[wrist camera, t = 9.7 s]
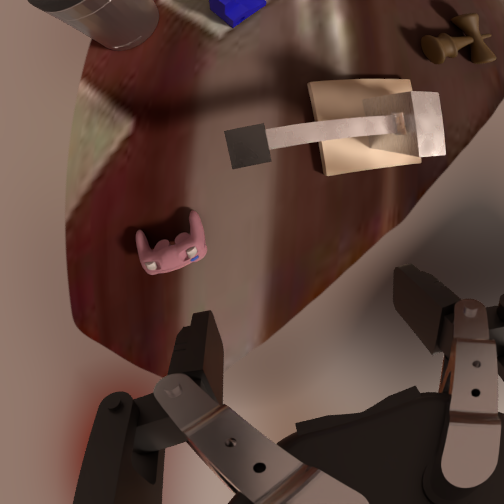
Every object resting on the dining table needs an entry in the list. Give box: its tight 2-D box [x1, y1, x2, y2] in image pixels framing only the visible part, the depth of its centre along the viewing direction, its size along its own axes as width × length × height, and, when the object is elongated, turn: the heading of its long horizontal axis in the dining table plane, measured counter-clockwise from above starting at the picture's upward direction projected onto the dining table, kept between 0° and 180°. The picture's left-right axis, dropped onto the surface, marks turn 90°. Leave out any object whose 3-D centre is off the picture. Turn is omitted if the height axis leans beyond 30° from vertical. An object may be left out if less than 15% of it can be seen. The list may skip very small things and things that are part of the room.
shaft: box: [224, 115, 397, 169], centre depth 25 cm, size 3×18×8 cm, turn 101°
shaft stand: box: [307, 79, 446, 176], centre depth 30 cm, size 13×16×14 cm
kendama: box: [421, 13, 496, 64], centre depth 28 cm, size 6×10×20 cm
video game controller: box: [136, 210, 207, 275], centre depth 39 cm, size 10×5×7 cm, turn 107°
